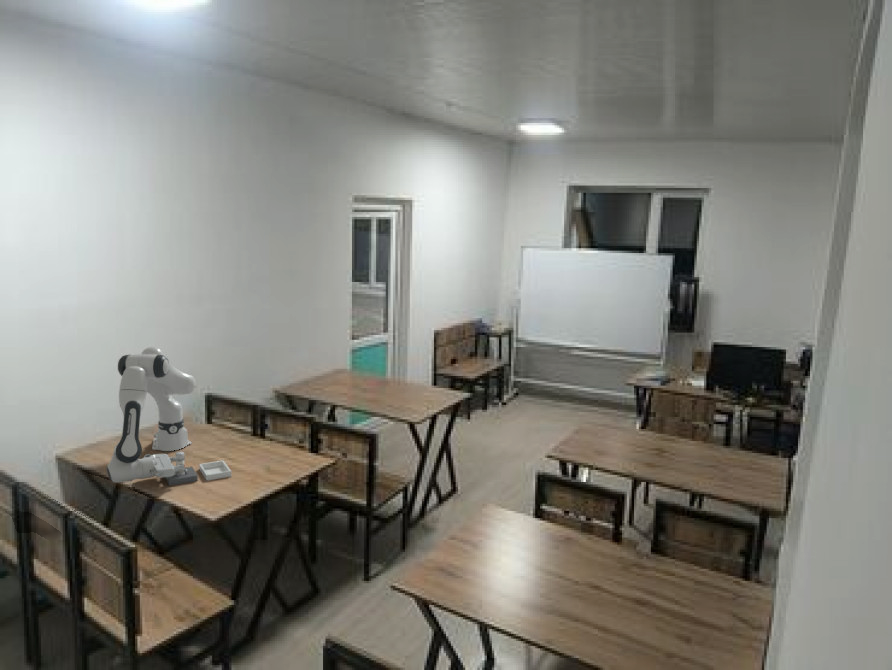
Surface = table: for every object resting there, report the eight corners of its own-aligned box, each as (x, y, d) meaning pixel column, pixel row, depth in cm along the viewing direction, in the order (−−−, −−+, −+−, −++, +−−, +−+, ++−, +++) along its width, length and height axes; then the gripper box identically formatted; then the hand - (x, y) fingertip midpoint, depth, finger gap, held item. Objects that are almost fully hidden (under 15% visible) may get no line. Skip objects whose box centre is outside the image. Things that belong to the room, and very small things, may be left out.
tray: (199, 471, 307) (199, 464, 306) (223, 467, 312) (223, 460, 312) (206, 482, 294) (206, 475, 294) (231, 478, 300) (231, 471, 299)
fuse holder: (164, 478, 297) (164, 468, 296) (192, 473, 304) (191, 463, 303) (169, 487, 287) (168, 477, 286) (197, 482, 294) (197, 473, 293)
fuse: (175, 477, 296) (174, 452, 294) (184, 476, 298) (183, 451, 296) (177, 480, 293) (176, 455, 290) (186, 479, 295) (185, 453, 292)
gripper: (152, 469, 278) (186, 463, 285) (145, 453, 295) (177, 448, 302) (152, 483, 279) (186, 477, 286) (145, 466, 296) (178, 461, 303)
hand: (182, 462), depth 294 cm, fingers open, 8 cm apart
